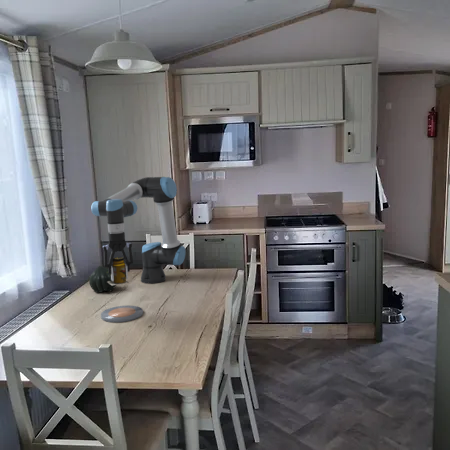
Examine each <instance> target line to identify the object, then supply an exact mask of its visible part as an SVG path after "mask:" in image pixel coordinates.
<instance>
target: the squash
mask: <svg viewBox="0 0 450 450" xmlns="http://www.w3.org/2000/svg"><path fill="white" fill-rule="evenodd" d="M89 276H90V277H89V280H88V283H89V286H90V288H91V289H92V290H93V291H94V292H95V293H102V292H105V291H106V292H112V291H113V290H114V289H115V288H116V286H117V285H110V284H109V283H108V281H112V280H111V274H109V272H108V267H105V266H104V265H103V266H102V265H99V266H97V267H96V269H94V271H92V273H91V274H90V275H89Z"/></svg>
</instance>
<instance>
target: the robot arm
mask: <svg viewBox="0 0 450 450" xmlns="http://www.w3.org/2000/svg"><path fill="white" fill-rule="evenodd" d="M177 191H178V189H177V183H176V181H175V180H174V179H172V177H167V176H154V177H153V176H152V177H150V176H149V177H148V176H146V177H142V178H139V179H137V180H134V181H133V182H131V183H129V184H128V186H127V187H125V188H123V189H122V190H120V191H118V192H116V193H114V194H112V195H111V196H109V197H107V198H106V199H103V200H96V201H93V202H92V204H91V207H90V208H91V213H92V214H93V216H94V217H107V218H106V219H107V232H108V236H107V237H108V243H107V244H106V245H102V249H103V267H105V268H107V269H108V272H109V274H111V280H112V281H114V276H113V267H112V264H113V258H115V253H117V252H120V253H121V255H122V257H123V258H124V263H125V270H126V280H129V276H128V275H129V272H130V271H131V270H130V268H131V267H130V266H131V265H132V264H134V260H133V251H132V246H133V243H131V242H127V241H126V234H125V221H124V219H125V218H127V217H132V216H134V215H135V214H136V213H137V211H138V205H137V203H136V202H135V201H134V200H139V199H141V198H150V199H151V198H153V202H154V203H155V204H156V206H157V212H158V218H159V225H160V232H161V238H162V239H161V240H162V242H159V241H156V242H150V243H149V242H148V243H146V244H144V245H142V248H141V256H142V258H141V259H142V272H141V276H140V282H141V283H143V284H152V285H153V284H158V283H163V282H165V281H166V280H167V277H166V273H165V271H164V270H165V269H164V268H163V265H166V266H180V265H182V264H183V262H184V261H185V258H186V247H185V245H182V244H181V241H180V240H179V239H178V234H177V227H176V221H175V214H174V208H173V201H174V200H175V197H176V196H177ZM125 247H126V248H127V251H128V253H127V254H128V256H127V255H126V252H125V250H124V249H125ZM109 249H110V250H111V251H110V256H109V258H108V250H109ZM108 259H109V260H108Z"/></svg>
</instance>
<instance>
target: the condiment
mask: <svg viewBox="0 0 450 450" xmlns="http://www.w3.org/2000/svg"><path fill="white" fill-rule="evenodd" d="M125 265H126V262H125V260H124V257H123V256H114V258H113V262H112V267H113V276H114V281H108V283H109V284H110V285H116V286H117V285H124V284H127V283H129V281H127V279H126V270H125Z"/></svg>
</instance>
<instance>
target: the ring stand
mask: <svg viewBox="0 0 450 450" xmlns="http://www.w3.org/2000/svg"><path fill="white" fill-rule="evenodd" d="M143 315H144V310H143V308H142V307H140V306H137V305H127V304H125V305H118V306H114V307H110V308H106V309H104V311H102V312H101V313H100V319H101V320H103V321H104V322H108V323H124V322H125V323H127V322H131V321H134V320H137V319H139V318H140V317H142V316H143Z"/></svg>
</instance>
